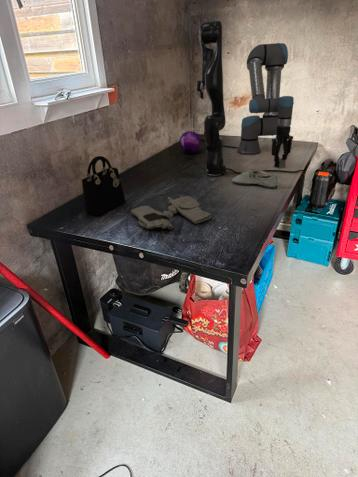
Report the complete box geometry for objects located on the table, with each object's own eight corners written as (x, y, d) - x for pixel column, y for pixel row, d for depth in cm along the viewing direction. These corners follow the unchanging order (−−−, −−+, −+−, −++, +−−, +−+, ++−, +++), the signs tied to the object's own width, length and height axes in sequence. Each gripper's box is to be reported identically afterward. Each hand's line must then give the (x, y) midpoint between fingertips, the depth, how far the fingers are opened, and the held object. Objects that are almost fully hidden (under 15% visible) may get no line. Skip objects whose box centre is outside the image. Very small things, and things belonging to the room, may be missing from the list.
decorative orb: (204, 151, 235) (204, 129, 228) (194, 156, 225) (193, 134, 217) (186, 149, 243) (186, 128, 235) (175, 154, 232) (174, 132, 224)
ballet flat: (235, 178, 184) (236, 165, 180) (279, 184, 173) (281, 170, 169) (230, 183, 177) (230, 169, 173) (275, 190, 166) (276, 175, 163)
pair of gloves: (147, 237, 131) (146, 225, 129) (129, 213, 152) (128, 202, 149) (214, 220, 141) (214, 209, 138) (188, 199, 162) (188, 189, 159)
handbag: (98, 217, 149) (87, 164, 137) (84, 214, 154) (72, 161, 141) (127, 201, 164) (120, 151, 152) (113, 198, 169) (105, 149, 156)
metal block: (280, 164, 200) (281, 158, 198) (284, 166, 197) (285, 159, 195) (274, 166, 199) (275, 159, 197) (279, 168, 196) (279, 161, 193)
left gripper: (216, 67, 200) (215, 96, 209) (194, 69, 196) (195, 98, 204) (221, 68, 194) (221, 97, 202) (199, 69, 190) (200, 100, 198)
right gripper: (292, 122, 192) (287, 162, 203) (267, 126, 187) (263, 166, 198) (300, 125, 186) (295, 165, 197) (274, 129, 181) (271, 170, 192)
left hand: (208, 98), depth 203 cm, fingers open, 8 cm apart
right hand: (279, 166), depth 198 cm, fingers closed on metal block, 4 cm apart
